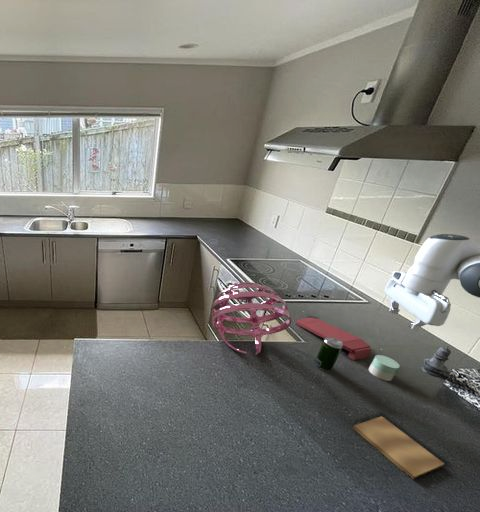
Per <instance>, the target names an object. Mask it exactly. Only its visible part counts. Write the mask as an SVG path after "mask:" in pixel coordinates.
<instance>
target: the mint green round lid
mask: <svg viewBox="0 0 480 512" xmlns="http://www.w3.org/2000/svg"><path fill="white" fill-rule="evenodd" d="M371 363H372V365H373V366H374V367H375V368H376V369H378V370H380V371H382V372H384V373H387V374H392V375H394V374H395V375H396V374H397V372H398V371H399V370H400V367H401V365H400V364H399V363H398V362H397V361H396V360H394V359H392V358H390V357H388V356H385V355H382V354H376V355H375V356H374V357H373V360H372V361H371Z"/></svg>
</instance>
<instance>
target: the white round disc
mask: <svg viewBox="0 0 480 512" xmlns="http://www.w3.org/2000/svg"><path fill="white" fill-rule="evenodd" d="M368 372H369V373H370V374H371V375H373V376H374V377H376V378H377V379H379V380H383V381H386V382H390V381H393V379H394V378H395V376H396V374H394V375H392V374H387V373H384V372H382V371H380V370H378V369H376V368H375V367H374V366H373V365H372V362H371V363H370V365H369V367H368Z"/></svg>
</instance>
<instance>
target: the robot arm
mask: <svg viewBox="0 0 480 512" xmlns="http://www.w3.org/2000/svg"><path fill="white" fill-rule="evenodd" d="M451 280H458V281H459V283H460V286H461V287H462V289H463V290H464V291H465V292H467V293H468V294H470V295H471V296H474V297H475V298H479V299H480V245H479V244H477V243H475V242H474V241H473V240H472V239H471V238H469V237H468V236H465V235H459V234H452V233H450V234H449V233H440V234H434V235H431V236H429V237H428V238H427V239H426V240H425V241H424V242H423V244H422V245H421V246H420V248H419V249H418V251H417V253H416V254H415V257H414V260H413V263H412V265H411V266H410V267H409V268H408V270H407V271H401V270H393V271H392V273H391V278H390V279H389V280H388V282H387V283H386V285H385V287H384V294H385V295H386V296H387V297H389V298H390V303H389V304H390V308H389V312H390V313H391V314H393V315H394V314H395V315H398V314H399V312H400V311H401V310H400V309H399V307H400V306H401V307H402V308H404V310H406V311H407V312H409V313H410V314H412V315H413V316H414V317H415V318H416V321H415V322H410V324H409V326H408V327H409V328H410V329H411V330H413V331H420V329H421V328H422V327H423V326H426V325H428V326H434V327H441V326H444V324H445V323H446V321H447V319H448V317H449V315H450V313H451V306H452V304H451V302H450V298H448V297H447V296H445V295H443V293H444V292H445V290H446V288H447V287H448V286H449V284H450V282H451Z"/></svg>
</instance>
